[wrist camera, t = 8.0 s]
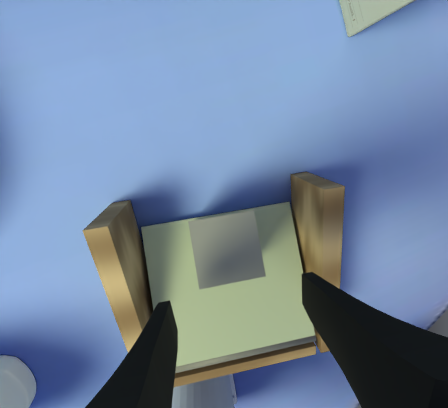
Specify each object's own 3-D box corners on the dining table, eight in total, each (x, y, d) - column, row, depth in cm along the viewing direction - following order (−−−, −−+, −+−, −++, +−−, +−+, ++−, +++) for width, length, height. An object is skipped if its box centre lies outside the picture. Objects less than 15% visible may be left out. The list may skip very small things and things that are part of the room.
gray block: (251, 262, 20) (265, 276, 15) (201, 272, 19) (199, 289, 14) (242, 213, 20) (253, 210, 15) (192, 221, 20) (188, 221, 15)
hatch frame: (307, 304, 26) (336, 349, 20) (153, 337, 24) (143, 394, 19) (306, 171, 21) (344, 186, 15) (112, 202, 19) (82, 230, 14)
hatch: (312, 338, 21) (316, 343, 20) (165, 371, 19) (163, 378, 18) (286, 202, 21) (289, 201, 20) (143, 226, 20) (140, 227, 19)
